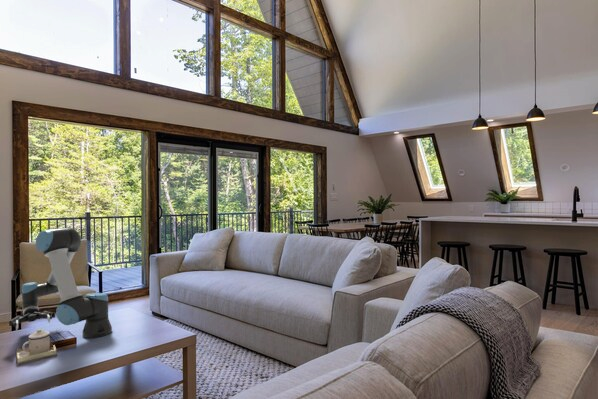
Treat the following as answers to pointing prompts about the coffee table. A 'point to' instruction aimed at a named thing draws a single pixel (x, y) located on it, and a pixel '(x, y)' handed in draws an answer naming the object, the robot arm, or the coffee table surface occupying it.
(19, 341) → the coffee table surface
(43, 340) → the teacup with lid
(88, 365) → the coffee table surface
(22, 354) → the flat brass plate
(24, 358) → the brass cradle
